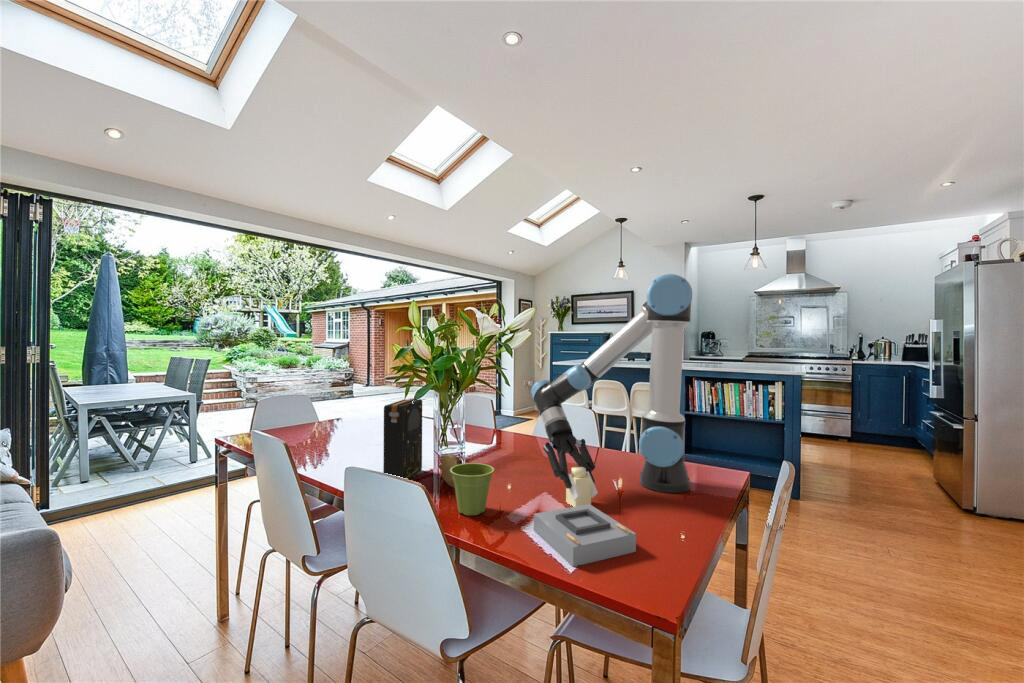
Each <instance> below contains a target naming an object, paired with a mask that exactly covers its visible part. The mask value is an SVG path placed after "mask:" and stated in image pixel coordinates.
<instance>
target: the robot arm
mask: <svg viewBox="0 0 1024 683" xmlns="http://www.w3.org/2000/svg"><path fill="white" fill-rule="evenodd" d="M645 297H646V301H645V302H644V303H642V305H641V310H640V311H639V312H638V313H637V314H636V315H635V316H633V317H632V318H631V319H630V320H628V322H627V323H625V325H624V326H622V327H621V328H620V329H619V330H617V331H616V333H614V334H613V335H612V336H611V337H610V338H608V340H607V341H605V342H604V343H603V344H602V345H601V346H600V347H599V348H598V349H596V350H595V351H594V352H593V353H591V355H589V356H588V357H587V358H586V359H585V360H584V361H583V362H582V363H581V364H575V365H574V366H572V367H570V368H568V369H567V370H566V371H565V372H563V373H562V374H561V375H559V376H558V377H556V378H555V379H554V380H553V381H550V380H549V379H548V380H547V379H541V380H540V381H537V382H535V383H534V384H533V385H532V387H531V389H530V391H531V396H532V401H533V403H534V404H535V407H536V410H537V411H538V413H539V414H538V415H539V416H540V419H541V423H542V425H543V427H544V429H545V433H546V435H547V437H548V440H549V442H548V441H547V442H546V443H545V444H544V446H543V447H542V450H543V451H544V452H545V453H546V455H547V458H548V461H549V463H550V466H551V469H552V472H553V474H554V477H556V478H559V479H560V480H561V481H563V483H564V485H565V489H566V488H567V489H568V488H569V490H570V492H571V495H572V497H573V500H574V501H576V500H577V499H578V498H579V497H580V494H579V492H578V489H577V487H576V485H575V482H574V480H573V477H572V474H571V473H569V470H568V463H567V462H568V461H567V456H566V454H568V455H569V456H570V457H571V458H572V459H573V460H574V461H575V463H576V465H577V466H579V467H584V468H586V475H588V476H590V477H591V499H593V498H595V497H596V496H597V495H598V490H597V488H596V485H595V483H596V482H595V481H596V480H595V478H594V476H593V473H592V472H593V471H594V470H595V469H596V465H595V463H594V460H593V459H592V457H591V454H590V452H589V449H588V448H587V446H586V440H585V439H584V438H581V439H577V438H576V437H575V435H574V434H573V429H572V427H571V425H570V423H569V420H568V417H567V414H566V413H565V411H564V409H563V406H562V404H563V403H565V402H566V401H568V400H569V399H571V398H572V397H574V396H575V395H577V394H579V393H580V392H583V391H586V390H588V389H590V388H592V386H593V385H594V383H595V382H597V381H598V380H599V379H600V378H601V377H602V376H604V374H606V373H607V372H608V371H609V370H610V369H611V368H612V367H614V366H615V365H616V364H617V363H619V362H620V361H621V360H622V359H624V357H625V356H627V354H629V353H630V352H632V350H633V349H635V348H636V347H637V346H638V345H639V344H641V343H642V342H643V341H644V340H645V339H647V338H648V337H649V335H651V349H650V365H649V369H650V370H649V386H648V387H649V388H648V402H647V404H648V405H647V406H648V407H647V410H646V411H645V412H644V413H643V414H642V417H641V418H642V419H641V433H640V434H641V435H640V436H639V439H638V446H639V451H640V453H641V456H642V457H643V458H644V460H645V461H644V463H643V466H642V469H641V472H640V474H639V484H640V485H641V486H643V487H644V488H646V489H649V490H652V491H655V492H660V493H667V494H668V493H669V494H671V493H672V494H676V493H685V492H687V491H689V490H690V489H691V479H690V478H689V474H688V471H687V467H686V464H685V446H686V445H685V444H686V442H685V441H686V440H685V439H686V438H685V437H686V436H685V434H686V431H685V430H686V429H685V428H686V418H685V416H684V415H683V414H681V412H680V411H681V394H682V393H681V392H682V391H681V390H682V389H681V388H682V377H683V376H682V375H683V374H682V372H683V371H682V370H683V357H684V355H683V352H684V337H685V336H684V335H685V334H684V333H685V328H686V327H688V326H689V325H690V324H691V317H692V316H691V312H692V300H693V288H692V285H691V284H690V283H689V281H688V280H687V279H686V278H684V277H683V276H681V275H679V274H674V273H666V274H661V275H660V276H657V277H656V278H655V279H654V280H652V282H651V283H650V284H649V286H648V287H647V291H646V296H645ZM555 451H556V452H555ZM556 453H557V454H556ZM568 474H569V475H568Z"/></svg>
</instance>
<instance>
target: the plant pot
mask: <svg viewBox="0 0 1024 683" xmlns="http://www.w3.org/2000/svg"><path fill="white" fill-rule="evenodd" d="M450 472H451V473H452V475H453V481H454V484H455V488H454V490H455V498H456V505H457V510H458V512H459V514H463V515H464V516H468V517H469V516H470V517H471V516H477V515H480V514H481V513H484V512H485V511H486V507H487V501H488V500H487V499H488V495H489V488H490V483H491V480H492V476H493V473H495V468H494V467H493V466H492V465H489V464H485V463H478V462H477V463H476V462H469V463H467V462H466V463H463V464H460V465H456V466H453V467H452V468H451V469H450Z"/></svg>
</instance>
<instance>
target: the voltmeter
mask: <svg viewBox="0 0 1024 683" xmlns="http://www.w3.org/2000/svg"><path fill="white" fill-rule="evenodd" d="M414 399H415V400H416V401H415V402H414V404H412V401H413V400H414ZM382 467H383V471H382V472H383V473H388V474H392V475H396V476H400V477H403V478H408V480H410V479H411V478H412V477H414V476H415V475H416V474H418V473H419V472H421V471H422V470H423V469H422V468H423V400H422V399H421V398H420V399H419V400H418V399H417V398H409V399H405V398H404V399H401V400H398V401H395V402H391V403H389V404H385V405H384V407H383V466H382ZM417 472H418V473H417ZM414 474H415V475H414ZM413 475H414V476H413Z"/></svg>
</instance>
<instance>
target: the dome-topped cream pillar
mask: <svg viewBox="0 0 1024 683" xmlns="http://www.w3.org/2000/svg"><path fill="white" fill-rule="evenodd" d="M570 469H571V471H570V472H571V473H568V475H569V474H572V477H573V480H574V482H575V485H576V487H577V489H578V492H579V494H580V497H579V498H578V499H577V500H576V501H574V500H573V497H572V495H571V492H570V490H569V488H568V489H567V488H566V487H565V503H566V502H567V503H566V504H568V505H569V504H570V506H571V505H572V506H573V507H576V506H582V505H587V504H590V505H592V498H591V477H590V476H588V475H586V468H584V467H579V466H578V465H576V466H572V467H571V468H570ZM572 506H571V507H572Z"/></svg>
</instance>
